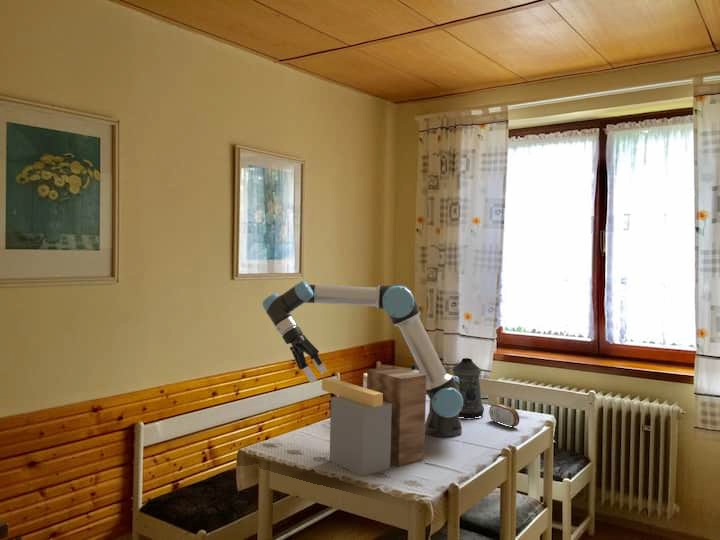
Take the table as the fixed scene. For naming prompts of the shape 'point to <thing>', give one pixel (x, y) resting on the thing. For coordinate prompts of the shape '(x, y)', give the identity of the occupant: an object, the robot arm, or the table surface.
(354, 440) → the grey base
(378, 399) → the ochre bar
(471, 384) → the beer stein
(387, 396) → the walnut pedestal
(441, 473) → the table surface
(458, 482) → the table surface
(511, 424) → the tin
